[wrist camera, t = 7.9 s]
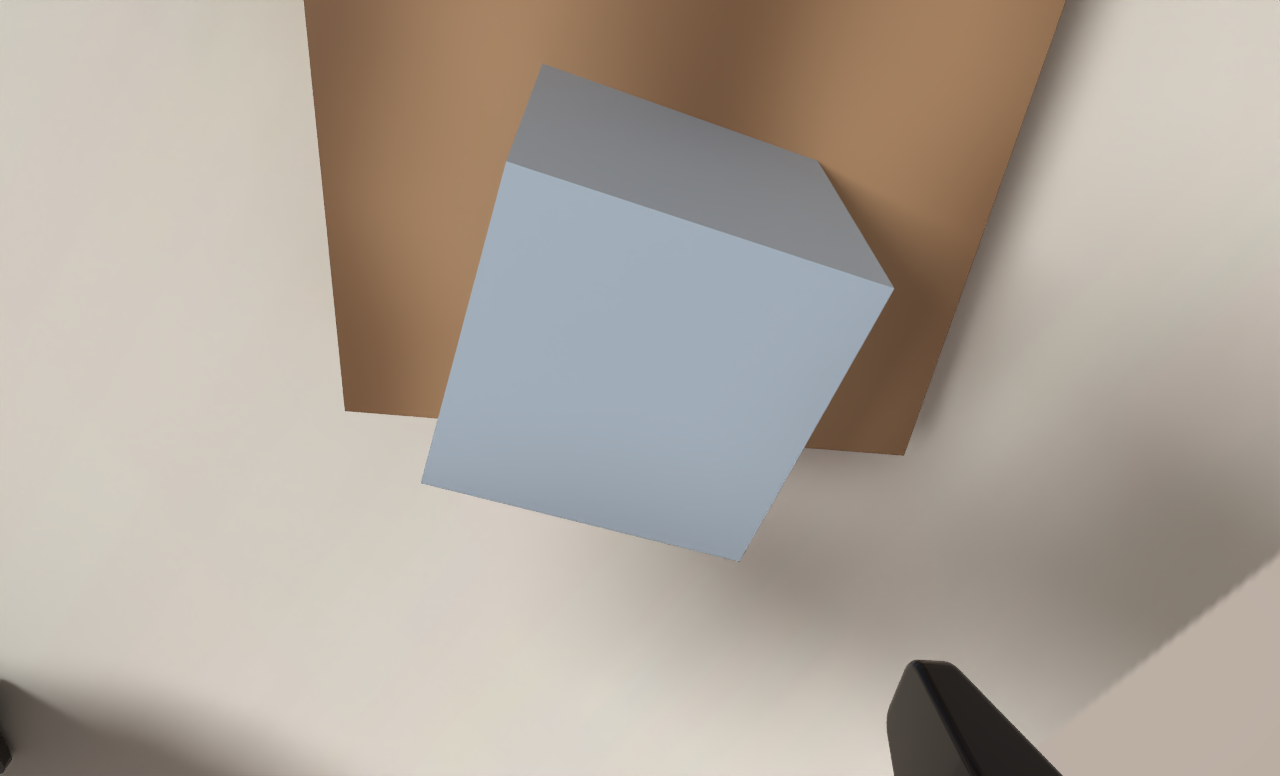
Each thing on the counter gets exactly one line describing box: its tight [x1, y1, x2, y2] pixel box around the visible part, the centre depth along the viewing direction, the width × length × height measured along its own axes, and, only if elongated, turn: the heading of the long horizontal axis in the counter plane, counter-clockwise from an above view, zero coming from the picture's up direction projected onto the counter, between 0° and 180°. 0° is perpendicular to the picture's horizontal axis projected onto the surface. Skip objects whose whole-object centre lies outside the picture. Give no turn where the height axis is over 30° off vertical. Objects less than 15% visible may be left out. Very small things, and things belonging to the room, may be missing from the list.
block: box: [421, 63, 894, 562], centre depth 13 cm, size 5×5×5 cm
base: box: [304, 0, 1066, 456], centre depth 16 cm, size 12×12×2 cm
